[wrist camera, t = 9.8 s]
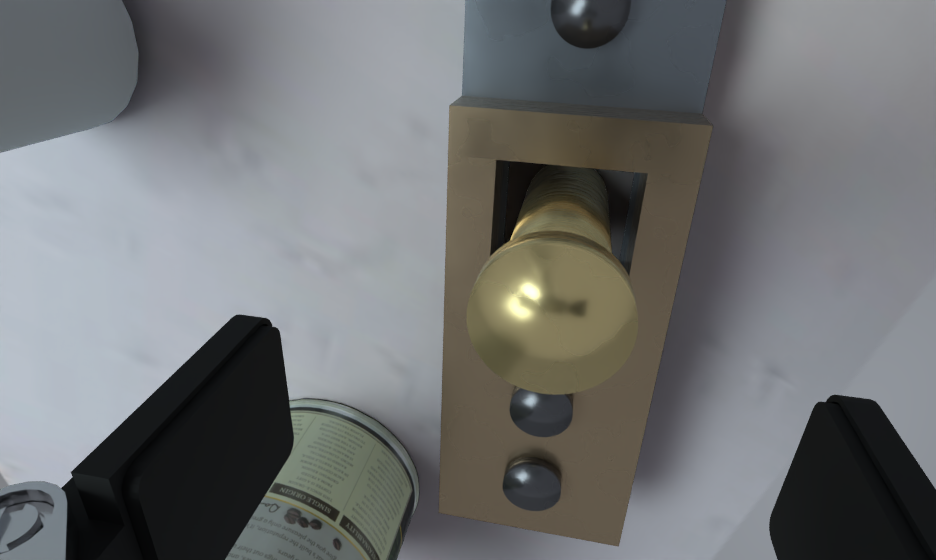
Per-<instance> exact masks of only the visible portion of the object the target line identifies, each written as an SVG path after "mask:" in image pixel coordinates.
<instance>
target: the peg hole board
mask: <svg viewBox="0 0 936 560" xmlns="http://www.w3.org/2000/svg"><path fill="white" fill-rule="evenodd" d="M725 5H726V0H465V27H464V55H463V84H462V96H461V97H460V98H458V99H457V100H456V101H455V102H453V103H452V104H451V105H450V106H449V144H448V182H447V220H446V258H445V296H444V334H443V372H442V410H441V448H440V486H439V513H442V514H448V515H453V516H458V517H464V518H469V519H474V520H480V521H485V522H490V523H496V524H501V525H507V526H512V527H517V528H523V529H528V530H533V531H539V532H544V533H549V534H555V535H560V536H566V537H571V538H576V539H582V540H587V541H592V542H598V543H603V544H608V545H614V546H619V543H620V538H621V534H622V529H623V525H624V520H625V516H626V512H627V507H628V503H629V498H630V494H631V489H632V485H633V480H634V476H635V471H636V467H637V463H638V458H639V454H640V449H641V445H642V440H643V436H644V431H645V427H646V422H647V418H648V414H649V409H650V405H651V400H652V396H653V391H654V387H655V382H656V378H657V373H658V369H659V365H660V360H661V356H662V351H663V347H664V342H665V338H666V333H667V329H668V324H669V320H670V316H671V311H672V307H673V302H674V298H675V293H676V289H677V284H678V280H679V276H680V271H681V267H682V262H683V258H684V253H685V249H686V244H687V240H688V235H689V231H690V227H691V222H692V218H693V213H694V209H695V204H696V200H697V195H698V191H699V186H700V182H701V178H702V173H703V169H704V164H705V160H706V155H707V151H708V146H709V142H710V137H711V133H712V129H713V125H712V124H711V123H710V122H709V121H708V120H707V118H706V117H705V116H704V115H703V114H702V112H703V108H704V103H705V98H706V94H707V89H708V84H709V80H710V75H711V70H712V66H713V61H714V56H715V52H716V47H717V42H718V38H719V33H720V28H721V24H722V19H723V14H724V10H725ZM510 161H517V162H528V163H539V164H550V165H561V166H572V167H583V168H594V169H605V170H616V171H627V172H635V173H634V179H633V185H632V190H631V196H630V202H629V208H628V214H627V219H626V225H625V231H624V237H623V243H622V249H621V254H620V260H619V261H620V263H621V264H622V266H623V267H624V268H625V270H626V272H627V274H628V275H629V277H630V280H631V282H632V285H633V288H634V294H635V299H636V307H637V314H638V332H637V338H636V342H635V345H634V348H633V350H632V352H631V354H630V356H629V357H628V359H627V361H626V362H625V364H624V365H623V366H622V367H621V368H620V369H619V370H618V371H617V372H616V373H615V374H614V375H613V376H612V377H610V378H609V379H607V380H606V381H604V382H603V383H601V384H599V385H597V386H595V387H593V388H590V389H587V390H584V391H581V392H576V393H571V394H558V395H552V394H541V393H537V392H532V391H528V390H525V389H522V388H520V387H517V386H515V385H513V384H511V383H509V382H507V381H506V380H504V379H502V378H501V377H500V376H498V375H497V374H495V373H494V372H493V371H492V370H491V369H490V368H489V367H488V366H487V365H486V364H485V363H484V362H483V360H482V359H481V358H480V356H479V355H478V353H477V352H476V350H475V348H474V346H473V344H472V342H471V339H470V336H469V333H468V327H467V306H468V301H469V298H470V294H471V292H472V290H473V287H474V285H475V282H476V280H477V278H478V275H479V273H480V271H481V269H482V267H483V266H484V264H485V263H486V261H487V260H488V259H489V258H490V256H491V255H492V254H493V253H494V252H495V251H496V250H498V249H499V248H500V247H501V246H503V243H504V230H505V216H506V203H507V189H508V176H509V162H510Z"/></svg>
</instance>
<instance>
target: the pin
mask: <svg viewBox="0 0 936 560" xmlns="http://www.w3.org/2000/svg"><path fill="white" fill-rule="evenodd" d="M467 327H468V333H469V336H470V339H471V342H472V344H473V346H474V348H475V350H476V352H477V353H478V355H479V356H480V358H481V359H482V360H483V362H484V363H485V364H486V365H487V366H488V367H489V368H490V369H491V370H492V371H493V372H494V373H495V374H497V375H498V376H500V377H501V378H502V379H504V380H506V381H507V382H509V383H511V384H513V385H515V386H517V387H520V388H522V389H525V390H528V391H532V392H537V393H541V394H552V395H558V394H571V393H576V392H581V391H584V390H587V389H590V388H593V387H595V386H597V385H599V384H601V383H603V382H604V381H606V380H607V379H609V378H610V377H612V376H613V375H614V374H615V373H616V372H617V371H618V370H619V369H620V368H621V367H622V366H623V365H624V364H625V362H626V361H627V359H628V357H629V356H630V354H631V352H632V350H633V348H634V345H635V342H636V338H637V332H638V314H637V307H636V299H635V294H634V288H633V285H632V282H631V280H630V277H629V275H628V274H627V272H626V270H625V268H624V267H623V266H622V264H621V263H620V261H619V260H618V259H617V258H616V257H615V256H614V255H613V254H612V248H611V233H610V219H609V204H608V192H607V188H606V185H605V183H604V181H603V179H602V177H601V176H600V175H599V174H598V173H597V171H595V170H594V169H593V168H583V167H572V166H561V165H550V164H549V165H547V166H545V167H544V168H542V169H541V170H540V171H539V172H538V173H537V174H536V175H535V176H534V177H533V179H532V181H531V183H530V185H529V187H528V190H527V193H526V196H525V199H524V202H523V205H522V208H521V211H520V214H519V216H518V219H517V222H516V225H515V228H514V231H513V234H512V237H511V240H510V241H509V242H507V243H506V244H504V245H503V246H501V247H500V248H499V249H498V250H496V251H495V252H494V253H493V254H492V255H491V256H490V258H489V259H488V260H487V261H486V263H485V264H484V266H483V267H482V269H481V271H480V273H479V275H478V278H477V280H476V282H475V285H474V287H473V290H472V292H471V294H470V298H469V301H468V306H467Z"/></svg>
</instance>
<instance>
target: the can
mask: <svg viewBox="0 0 936 560" xmlns="http://www.w3.org/2000/svg"><path fill="white" fill-rule="evenodd" d="M138 57H139V53H138V48H137V43H136V39H135V34H134V29H133V25H132V21H131V18H130V16H129V14H128V12H127V10H126V8H125V6H124V4H123V2H122V0H0V153H1V152H5V151H9V150H12V149H16V148H20V147H24V146H27V145H31V144H35V143H39V142H43V141H46V140H50V139H54V138H58V137H61V136H65V135H69V134H73V133H76V132H80V131H84V130H88V129H91V128H94V127H97V126H100V125H103V124H106V123H109V122H112V121H113V120H114V119H115V118H116V117H117V116H118V115H119V114H120V113H121V112H122V111H123V110H124V109H125V108H126V107H127V106H128V104H129V101H130V99H131V96H132V94H133V91H134V89H135V86H136V84H137V75H138Z"/></svg>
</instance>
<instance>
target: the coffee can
mask: <svg viewBox="0 0 936 560" xmlns="http://www.w3.org/2000/svg"><path fill="white" fill-rule="evenodd" d="M289 404H290V411H291V419H292V426H293V433H294V443H293V448H292V451H291V454H290V456H289V458H288V459H287V461H286V463H285V464H284V466H283V467H282V469H281V471H280V472H279V474H278V475H277V477H276V479H275V480H274V482H273V484H272V485H271V487H270V488H269V490H268V492H267V493H266V495H265V496H264V498H263V500H262V501H261V503H260V504H259V506H258V508H257V509H256V511H255V512H254V514H253V516H252V517H251V519H250V520H249V522H248V524H247V525H246V527H245V528H244V530H243V532H242V533H241V535H240V536H239V538H238V540H237V541H236V543H235V544H234V546H233V548H232V549H231V551H230V552H229V554H228V556H227V557H226V559H225V560H397V557H398V554H399V552H400V549H401V546H402V543H403V541H404V537H405V534H406V531H407V528H408V526H409V523H410V519H411V517H412V515H413V513H414V512H415V509H416V506H417V503H418V498H419V482H418V476H417V472H416V469H415V467H414V464H413V462H412V460H411V458H410V457H409V455H408V453H407V451H406V450H405V448H404V447H403V446H402V445H401V443H400V442H399V441H398V440H397V439H396V438H395V437H394V436H393V435H392V434H391V433H390V432H389V431H388V430H387V429H386V428H385V427H383V426H382V425H381V424H380V423H379V422H377V421H376V420H374V419H372V418H370V417H368V416H366V415H364V414H363V413H361V412H359V411H357V410H355V409H353V408H350V407H348V406H345V405H341V404H338V403H334V402H329V401H323V400H311V399H301V400H295V401H289Z"/></svg>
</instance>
